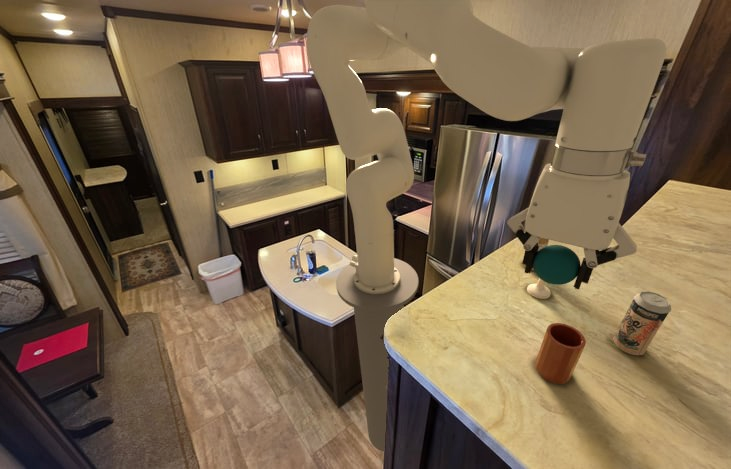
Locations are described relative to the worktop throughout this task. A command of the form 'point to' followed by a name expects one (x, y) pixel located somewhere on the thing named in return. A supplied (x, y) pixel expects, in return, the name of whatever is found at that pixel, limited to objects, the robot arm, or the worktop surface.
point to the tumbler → (559, 353)
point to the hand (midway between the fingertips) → (552, 275)
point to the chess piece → (539, 290)
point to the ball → (556, 264)
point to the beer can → (641, 322)
